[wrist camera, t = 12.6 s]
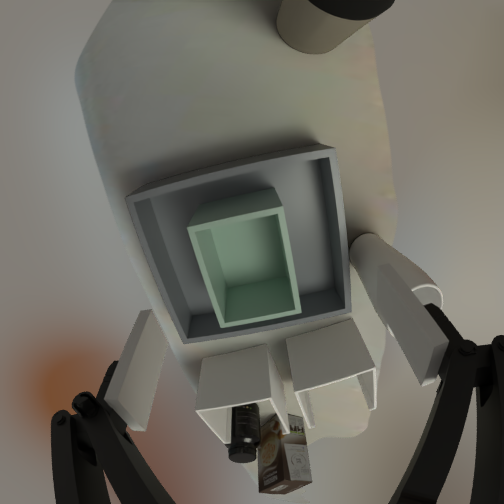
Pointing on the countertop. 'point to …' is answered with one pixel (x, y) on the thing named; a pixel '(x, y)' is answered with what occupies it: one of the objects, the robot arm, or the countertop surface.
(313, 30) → the travel mug
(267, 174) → the big crate
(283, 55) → the countertop surface
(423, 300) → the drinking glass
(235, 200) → the box
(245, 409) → the supplement bottle
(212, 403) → the white cubby shelf
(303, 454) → the coffee box
